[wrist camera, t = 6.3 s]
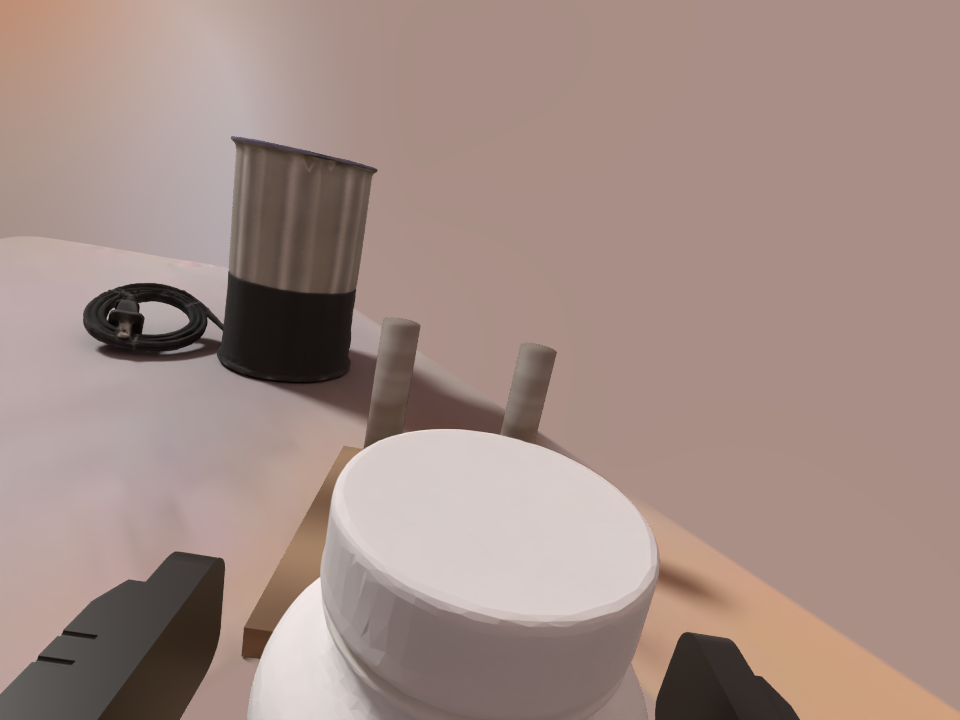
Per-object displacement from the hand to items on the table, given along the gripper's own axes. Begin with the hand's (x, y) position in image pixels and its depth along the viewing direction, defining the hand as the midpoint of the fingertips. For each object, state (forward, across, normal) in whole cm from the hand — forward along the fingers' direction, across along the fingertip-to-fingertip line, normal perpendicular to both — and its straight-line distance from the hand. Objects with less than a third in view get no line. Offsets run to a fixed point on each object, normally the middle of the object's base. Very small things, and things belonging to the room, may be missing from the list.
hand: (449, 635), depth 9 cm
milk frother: (+29, +16, +6) cm, 34 cm away
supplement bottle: (-2, 0, +6) cm, 6 cm away
